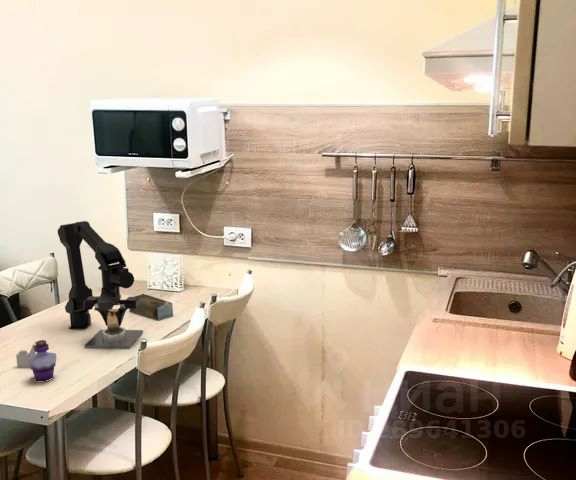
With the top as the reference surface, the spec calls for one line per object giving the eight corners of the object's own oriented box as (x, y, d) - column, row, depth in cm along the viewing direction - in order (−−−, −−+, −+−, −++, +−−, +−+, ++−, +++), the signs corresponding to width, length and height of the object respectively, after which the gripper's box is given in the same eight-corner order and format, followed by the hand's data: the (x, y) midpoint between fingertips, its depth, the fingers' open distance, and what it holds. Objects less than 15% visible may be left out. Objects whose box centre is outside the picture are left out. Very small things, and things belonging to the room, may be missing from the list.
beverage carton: (157, 321, 244) (157, 305, 243) (128, 312, 256) (127, 296, 255) (173, 316, 250) (173, 300, 248) (144, 307, 262) (143, 292, 261)
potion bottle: (35, 372, 197) (31, 336, 194) (63, 372, 197) (59, 336, 194) (24, 384, 188) (20, 346, 186) (53, 384, 188) (50, 346, 186)
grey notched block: (17, 367, 201) (14, 343, 199) (19, 365, 203) (17, 341, 201) (39, 367, 201) (37, 343, 199) (41, 365, 203) (39, 341, 201)
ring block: (84, 348, 217) (83, 338, 216) (100, 332, 232) (100, 323, 232) (129, 348, 216) (129, 339, 215) (143, 332, 231) (142, 323, 231)
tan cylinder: (105, 331, 221) (104, 312, 220) (110, 327, 226) (108, 308, 224) (118, 331, 221) (116, 312, 220) (122, 327, 225) (120, 309, 224)
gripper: (75, 289, 213) (79, 333, 216) (129, 289, 211) (132, 333, 215) (87, 280, 223) (91, 322, 227) (139, 281, 222) (141, 322, 226)
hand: (113, 325), depth 223 cm, fingers closed on tan cylinder, 4 cm apart
